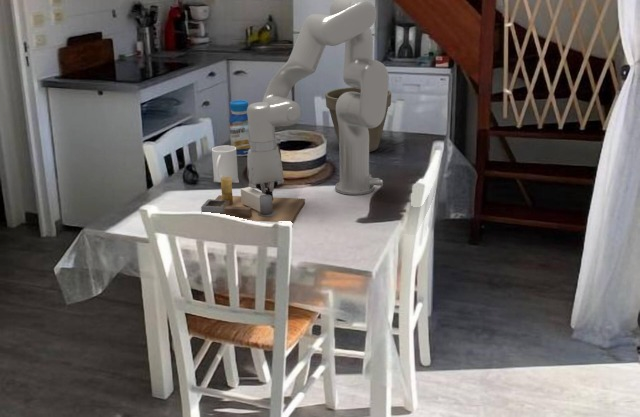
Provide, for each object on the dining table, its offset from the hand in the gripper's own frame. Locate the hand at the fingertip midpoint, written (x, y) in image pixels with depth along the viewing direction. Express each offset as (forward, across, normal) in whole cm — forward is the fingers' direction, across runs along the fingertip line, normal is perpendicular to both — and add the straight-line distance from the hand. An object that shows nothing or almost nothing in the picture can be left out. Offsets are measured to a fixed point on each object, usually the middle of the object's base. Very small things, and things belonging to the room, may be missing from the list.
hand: (268, 203), depth 225 cm
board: (+2, +5, +1) cm, 5 cm away
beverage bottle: (+3, -2, -63) cm, 63 cm away
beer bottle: (+3, -4, -18) cm, 19 cm away
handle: (0, +4, +3) cm, 5 cm away
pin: (0, +12, -5) cm, 13 cm away
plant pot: (+4, -46, -55) cm, 72 cm away
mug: (+2, +10, -28) cm, 30 cm away
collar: (0, +16, +1) cm, 16 cm away
